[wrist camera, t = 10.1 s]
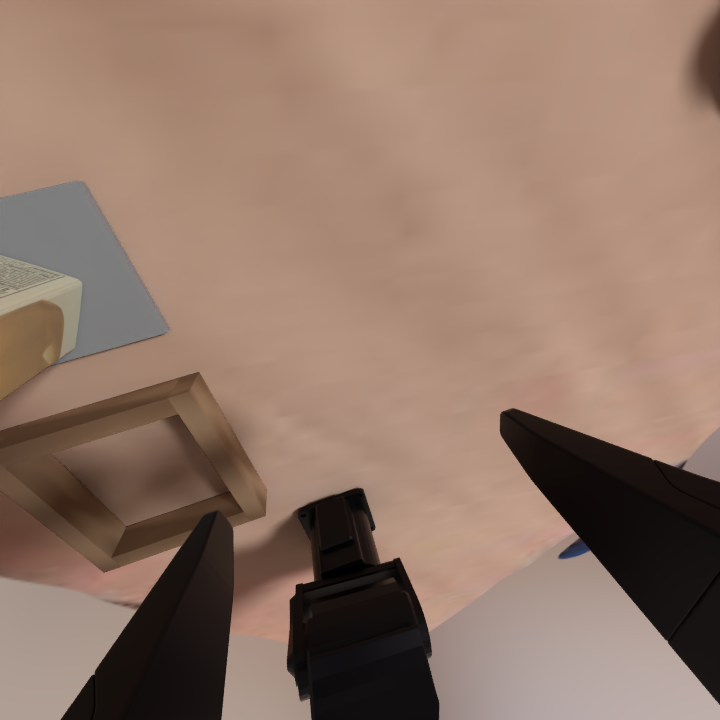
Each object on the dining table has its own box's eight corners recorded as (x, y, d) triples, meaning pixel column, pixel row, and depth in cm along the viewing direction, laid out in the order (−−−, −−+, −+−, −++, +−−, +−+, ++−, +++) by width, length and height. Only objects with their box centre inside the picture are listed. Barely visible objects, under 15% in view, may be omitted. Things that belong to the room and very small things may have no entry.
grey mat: (170, 329, 18) (166, 333, 18) (-41, 388, 17) (-51, 394, 17) (84, 181, 14) (76, 180, 14) (-197, 244, 13) (-216, 246, 13)
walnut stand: (266, 490, 26) (265, 515, 24) (119, 540, 25) (104, 572, 23) (199, 371, 20) (188, 391, 18) (-1, 431, 19) (-38, 460, 17)
